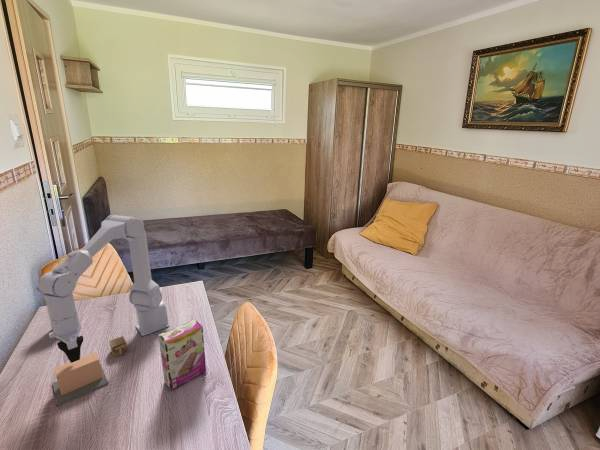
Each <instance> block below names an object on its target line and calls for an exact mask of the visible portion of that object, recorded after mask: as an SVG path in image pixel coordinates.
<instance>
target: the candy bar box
mask: <svg viewBox="0 0 600 450" xmlns="http://www.w3.org/2000/svg"><path fill="white" fill-rule="evenodd" d="M203 327H204V326H203V325H202V324H201V323H199V322H198V321H197V320H196V319H193V320H191V321H188V322H186V323H184V324H182V325H181V324H180V325H179V326H177V327H173V328H171V329H169V330H166V331H164V332H162V333H159V334H158V341H159V343H158V344H159V348H160V349H159V351H160V357H161V365H162V367H161V368H162V373H163V380H164V383H165V384H166V386H167V387H168V388H169V390H170V392H171V391H174V390H175V389H177V388H179V387H180V386H183V385H184V384H185V383H188V382H190V381H191V380H193V379H195V378H197V377H198V376H200V375H202V374H204V373H206V372H207V368H206V367H207V365H206V355H205V341H204V340H205V339H204V328H203Z"/></svg>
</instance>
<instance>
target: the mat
mask: <svg viewBox="0 0 600 450" xmlns="http://www.w3.org/2000/svg"><path fill="white" fill-rule="evenodd" d="M100 367H101V371H102V376H103V378H101V379H99V380H96V381H94V382H92V383H89V384H87V385H85V386H83V387H80V388H78V389H76V390H73V391H71V392H69V393H66V394H64V395H62V396H61V392H60V389H59V385H58V381H57V380H56V381H54V382H52V386H53V391H54V397H55V401H56V407H60V406H62V405H64V404H66V403H68V402H71V401H73V400H75V399H78V398H80V397H82V396H84V395H86V394H89V393H92V392H93V391H95V390H98V389H101V388H102V387H105V386H107V385H109V381H108V378H107V377H106V374H105V371H104V369H103V367H102V364H101V363H100Z"/></svg>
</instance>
